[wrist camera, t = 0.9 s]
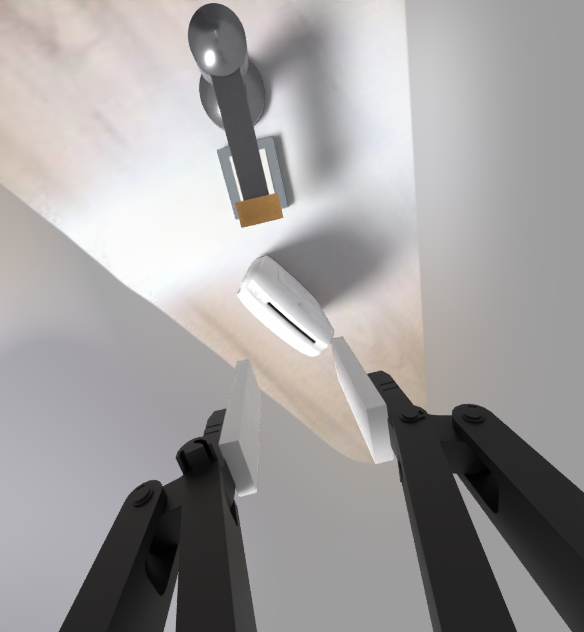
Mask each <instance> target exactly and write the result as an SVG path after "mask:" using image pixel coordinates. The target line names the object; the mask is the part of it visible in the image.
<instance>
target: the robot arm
mask: <svg viewBox="0 0 584 632" xmlns="http://www.w3.org/2000/svg"><path fill="white" fill-rule="evenodd" d="M330 341H331V346H332V351H333V356H334V361H335V366H336V372H337V377H338V380H339V382H340V384H341V387H342V389H343V391H344V393H345V396H346V398H347V400H348V402H349V405H350V407H351V409H352V412H353V414H354V416H355V418H356V421H357V423H358V425H359V427H360V430H361V432H362V434H363V437H364V439H365V441H366V443H367V446H368V448H369V450H370V452H371V455H372V457H373V459H374V462H375V464H377V463H381V462H386V461H390V460H393V459H394V458H393V451H394V453H395V455H396V457H397V460H398V467H399V474H400V482H402V486H403V491H404V496H405V500H406V505H407V510H408V514H409V519H410V524H411V529H412V533H413V538H414V543H415V547H416V552H417V557H418V562H419V566H420V571H421V576H422V580H423V585H424V589H425V594H426V599H427V604H428V609H429V613H430V618H431V622H432V627H433V632H517V631H516V628H515V626H514V623H513V621H512V618H511V616H510V613H509V611H508V608H507V606H506V604H505V601H504V599H503V596H502V594H501V591H500V589H499V587H498V584H497V581H496V579H495V577H494V574H493V572H492V569H491V567H490V564H489V562H488V559H487V557H486V555H485V552H484V550H483V547H482V545H481V542H480V540H479V538H478V535H477V533H476V530H475V528H474V525H473V523H472V520H471V518H470V515H469V513H468V511H467V508H466V505H465V503H464V501H463V498H462V496H461V493H460V491H459V488H458V486H457V483H456V481H455V479H454V476H453V474H452V473H455V474H457V475H458V476H459V478H460V479H461V480H462V482H463V483H464V485H465V486H466V487H467V489H468V490H469V491H470V493H471V494H472V495H473V497H474V498H475V500H476V501H477V502H478V504H479V505H480V506H481V508H482V509H483V511H484V512H485V513H486V515H487V516H488V517H489V519H490V520H491V522H492V523H493V524H494V526H495V527H496V528H497V530H498V531H499V532H500V534H501V535H502V537H503V538H504V539H505V541H506V542H507V543H508V545H509V546H510V548H511V549H512V550H513V552H514V553H515V554H516V556H517V557H518V558H519V560H520V561H521V563H522V564H523V565H524V567H525V568H526V569H527V571H528V572H529V573H530V575H531V576H532V578H533V579H534V580H535V582H536V583H537V584H538V586H539V587H540V589H541V590H542V591H543V593H544V594H545V595H546V597H547V598H548V599H549V601H550V602H551V604H552V605H553V606H554V607H555V609H556V610H557V612H558V613H559V615H560V616H561V617H562V619H563V620H564V621H565V623H566V624H567V625H568V627H569V628H570V630H571V631H572V632H584V492H582V491H581V490H580V489H579V488H578V487H577V486H576V485H574V484H573V483H572V482H571V481H570V480H569V479H568V478H566V477H565V476H564V475H563V474H562V473H561V472H559V471H558V470H557V469H556V468H555V467H554V466H553V465H551V464H550V463H549V462H548V461H547V460H546V459H544V458H543V457H542V456H541V455H540V454H539V453H538V452H537V451H535V450H534V449H533V448H532V447H531V446H530V445H528V444H527V443H526V442H525V441H524V440H523V439H521V438H520V437H519V436H518V435H517V434H516V433H515V432H513V431H512V430H511V429H510V428H509V427H508V426H507V425H506V424H504V423H503V422H502V421H501V420H499V418H497V417H496V416H495V415H494V414H493V413H492V412H490V411H489V410H487V409H486V408H484V407H481V406H478V405H473V404H462V405H459V406H457V407H455V408H454V409H453V410H452V415H450V416H449V415H447V416H446V415H444V416H443V415H440V416H439V415H430V414H428V413H427V412H426V411H425V410H424V409H422V408H421V407H418V406H415V405H413V404H412V403H411V401H410V400H409V399H408V398H407V396H406V395H405V394H404V392H403V391H402V390H401V389H400V387H399V386H398V385H397V384H396V382H395V381H394V380H393V378H392V377H391V376H390V375H389V374H387V373H385V372H383V371H377V372H373V373H369V374H366V372H365V370H364V369H363V367H362V366H361V364H360V363H359V361H358V360H357V358H356V356H355V355H354V353H353V352H352V350H351V349H350V347H349V346H348V344H347V342H346V341H345V339H344V338H343V336H342V337H338V338H333V339H330ZM260 416H261V394H260V391H259V387H258V384H257V381H256V378H255V374H254V371H253V368H252V365H251V362H250V359H246V360H242V361H238V362H237V365H236V369H235V373H234V378H233V383H232V387H231V391H230V396H229V401H228V405H227V408H226V409H222V410H218V411H214V412H213V414H212V415H211V416H210V418H209V419H208V421H207V425H206V429H205V431H204V435H203V437H198V438H194V439H192V440H190V441H189V442H187V443H186V444H184V445H183V446H182V447H181V448H180V450H179V451H178V452H177V455H176V459H177V462H178V464H179V466H180V468H181V470H182V472H183V476H181V477H180V478H179V479H177V480H174V481H173V482H170V483H169V484H167V485H165V486H162V484H161V483H160V482H159V481H157V480H150V481H147V482H145V483H143V484H141V485H140V486H138V487H137V488H136V489H134V490H133V492H131V493H130V494H129V496H128V497H127V499H126V500H125V502H124V504H123V506H122V508H121V510H120V512H119V514H118V516H117V518H116V520H115V522H114V524H113V526H112V528H111V529H110V532H109V534H108V535H107V537H106V540H105V541H104V544H103V545H102V547H101V549H100V551H99V553H98V555H97V557H96V559H95V561H94V563H93V565H92V567H91V569H90V571H89V573H88V575H87V577H86V579H85V581H84V583H83V585H82V587H81V589H80V591H79V593H78V595H77V597H76V599H75V601H74V603H73V605H72V607H71V609H70V611H69V613H68V615H67V617H66V619H65V621H64V622H63V625H62V627H61V628H60V631H59V632H163V631H164V627H165V623H166V619H167V615H168V611H169V607H170V603H171V599H172V595H173V591H174V587H175V583H176V579H177V575H178V595H177V614H176V632H257V629H256V623H255V616H254V610H253V604H252V597H251V591H250V585H249V578H248V572H247V566H246V559H245V553H244V546H243V540H242V534H241V527H240V522H239V515H238V508H237V505H236V503H235V500H234V494H235V488H236V490H237V493H238V495H239V497H240V496H245V495H249V494H253V493H256V492H257V487H258V464H259V462H258V461H259V440H260ZM178 571H179V574H178Z"/></svg>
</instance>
